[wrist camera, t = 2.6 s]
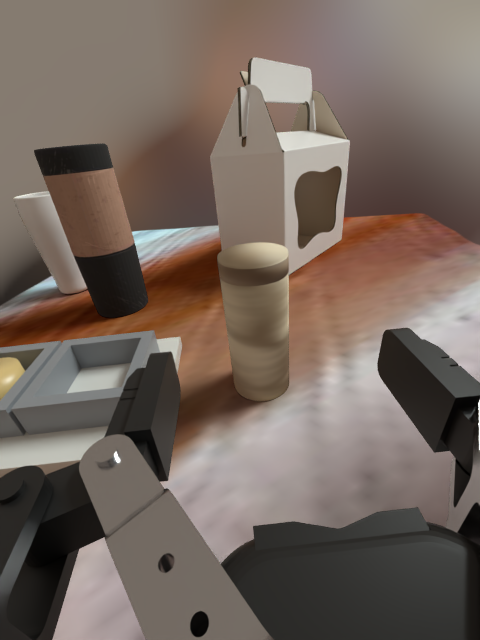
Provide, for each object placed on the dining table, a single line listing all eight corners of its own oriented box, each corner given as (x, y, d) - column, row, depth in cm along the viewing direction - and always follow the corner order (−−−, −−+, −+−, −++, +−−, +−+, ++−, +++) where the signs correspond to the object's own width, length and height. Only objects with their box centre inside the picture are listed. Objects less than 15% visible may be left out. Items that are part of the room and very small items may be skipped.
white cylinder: (84, 278, 54) (50, 190, 47) (106, 283, 51) (74, 189, 43) (47, 293, 50) (3, 198, 42) (69, 300, 46) (25, 198, 39)
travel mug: (84, 318, 41) (14, 151, 30) (114, 293, 47) (64, 149, 37) (134, 319, 39) (79, 144, 29) (158, 293, 45) (120, 142, 35)
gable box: (286, 233, 68) (284, 78, 54) (342, 240, 60) (357, 61, 46) (221, 265, 54) (196, 66, 39) (284, 279, 46) (281, 38, 32)
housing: (182, 345, 33) (174, 314, 31) (162, 461, 21) (148, 423, 19) (-8, 367, 33) (-28, 337, 31) (-139, 497, 21) (-187, 461, 19)
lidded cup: (270, 356, 30) (264, 238, 24) (300, 386, 26) (303, 254, 20) (225, 375, 28) (206, 252, 22) (250, 410, 24) (236, 272, 18)
